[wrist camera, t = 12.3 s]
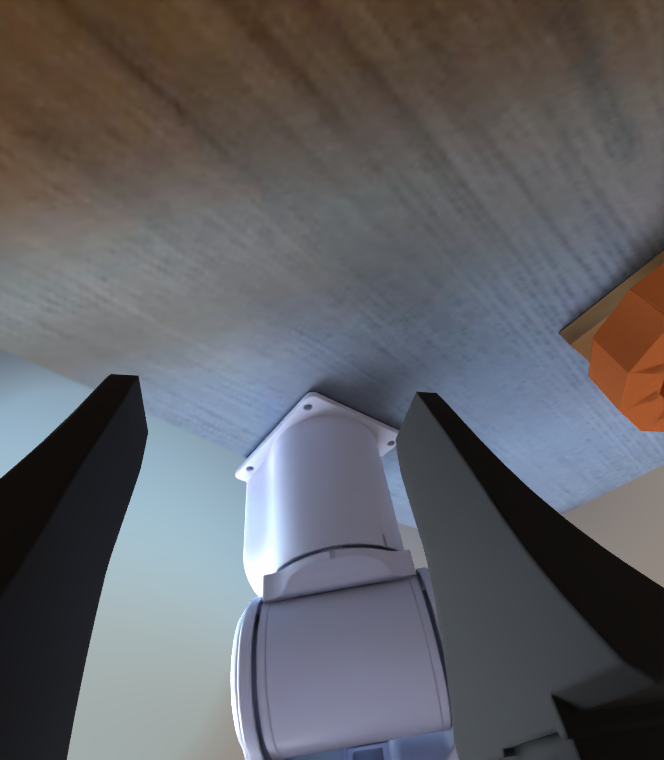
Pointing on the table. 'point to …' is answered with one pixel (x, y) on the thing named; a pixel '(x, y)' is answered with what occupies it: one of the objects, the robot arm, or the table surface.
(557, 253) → the table surface
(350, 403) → the table surface
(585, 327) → the peg stand
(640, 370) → the rubber ring
